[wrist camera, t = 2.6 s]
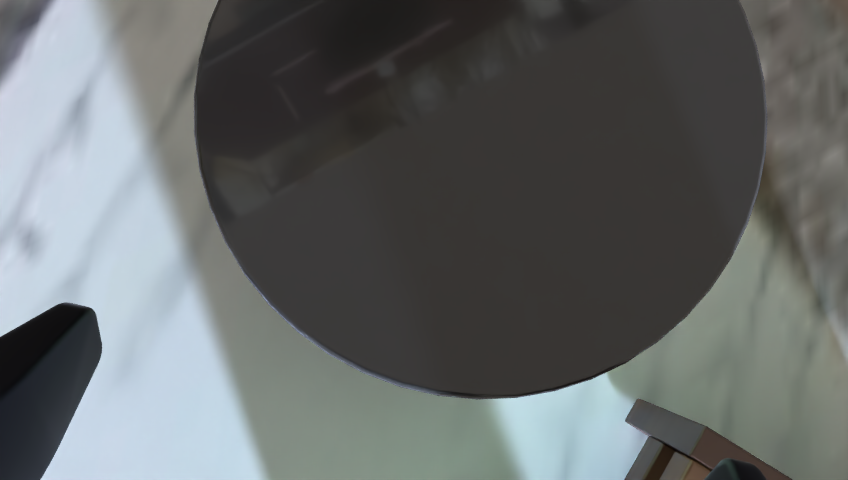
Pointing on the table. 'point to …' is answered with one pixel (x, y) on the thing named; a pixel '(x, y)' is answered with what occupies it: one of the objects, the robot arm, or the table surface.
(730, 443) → the wooden tray
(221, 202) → the spice jar
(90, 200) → the table surface
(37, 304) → the table surface
